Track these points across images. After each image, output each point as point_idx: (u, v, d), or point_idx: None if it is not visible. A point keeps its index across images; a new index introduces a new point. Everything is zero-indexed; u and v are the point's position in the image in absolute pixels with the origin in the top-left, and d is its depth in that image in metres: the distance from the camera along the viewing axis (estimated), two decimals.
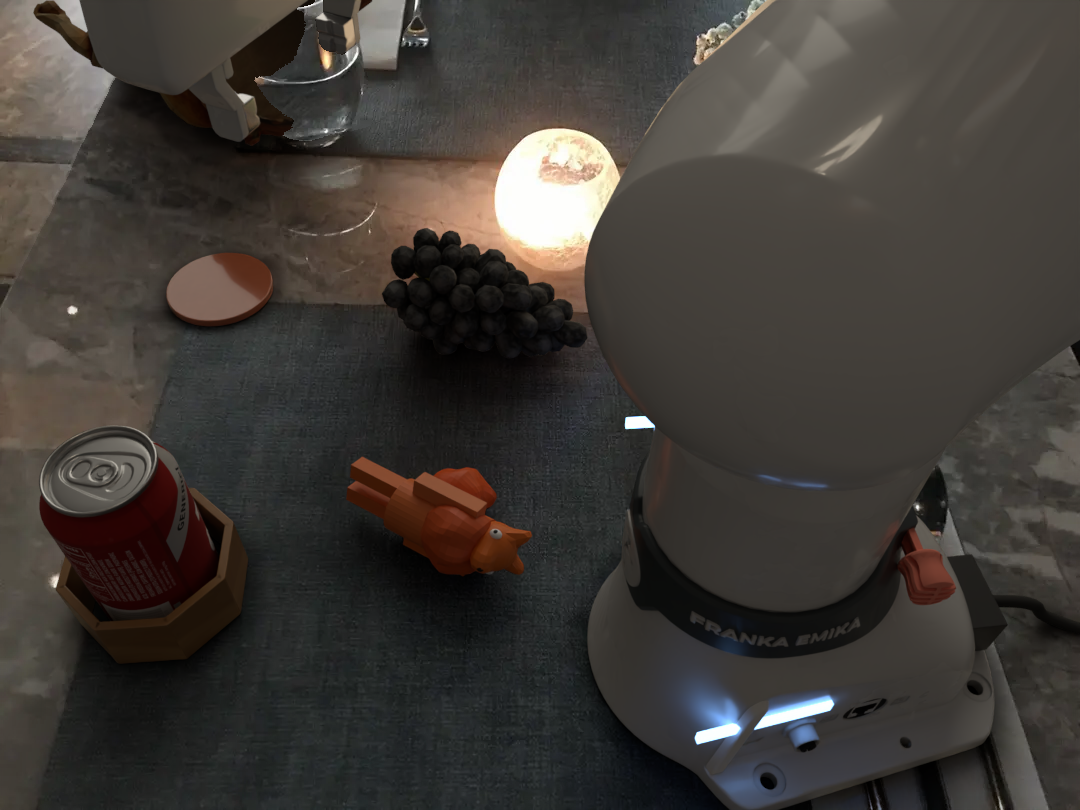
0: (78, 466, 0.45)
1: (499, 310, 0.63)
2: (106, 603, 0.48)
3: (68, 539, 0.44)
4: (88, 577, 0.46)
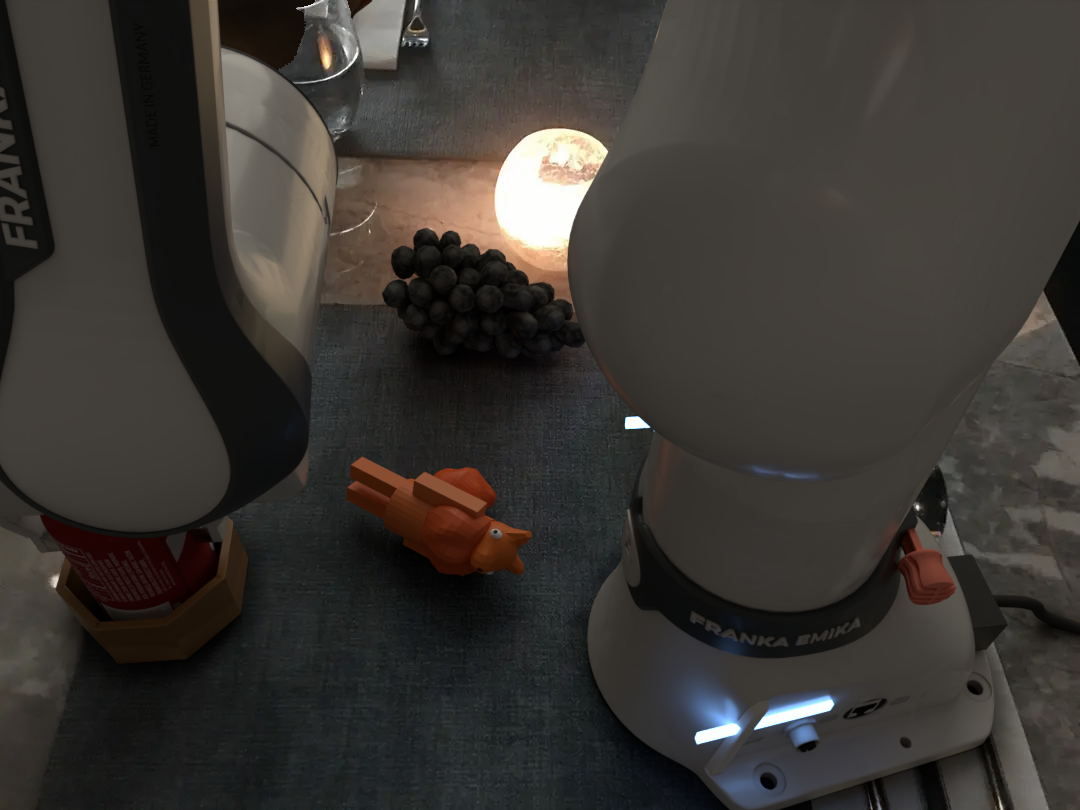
0: None
1: (499, 310, 0.63)
2: (106, 603, 0.48)
3: (68, 539, 0.44)
4: (88, 577, 0.47)
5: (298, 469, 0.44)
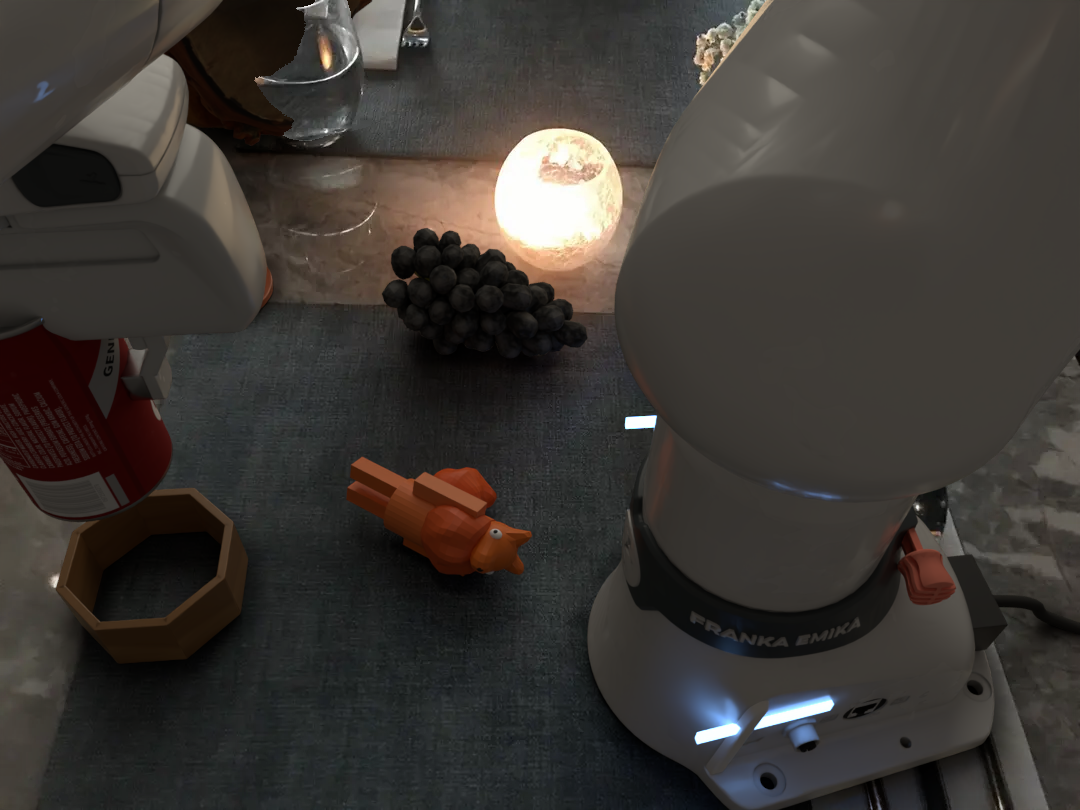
0: None
1: (499, 310, 0.63)
2: (22, 473, 0.40)
3: None
4: None
5: (248, 283, 0.35)
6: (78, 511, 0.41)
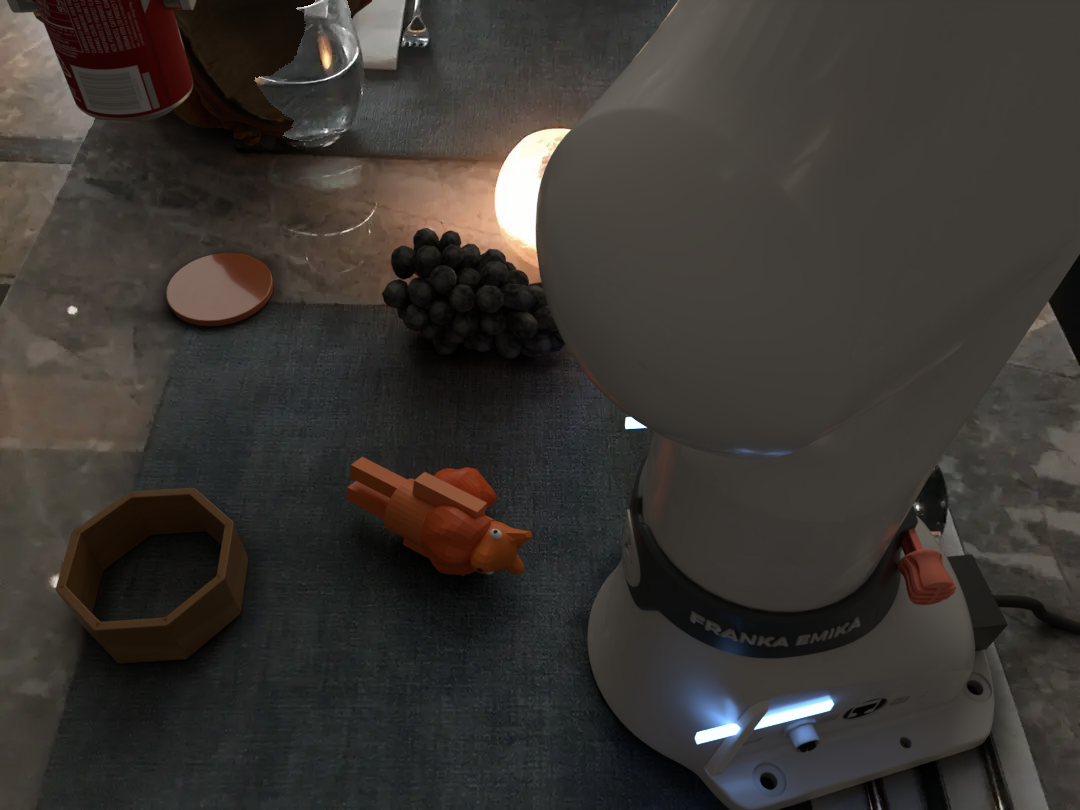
0: None
1: (499, 310, 0.63)
2: (75, 62, 0.49)
3: None
4: (56, 13, 0.47)
5: None
6: (119, 107, 0.51)
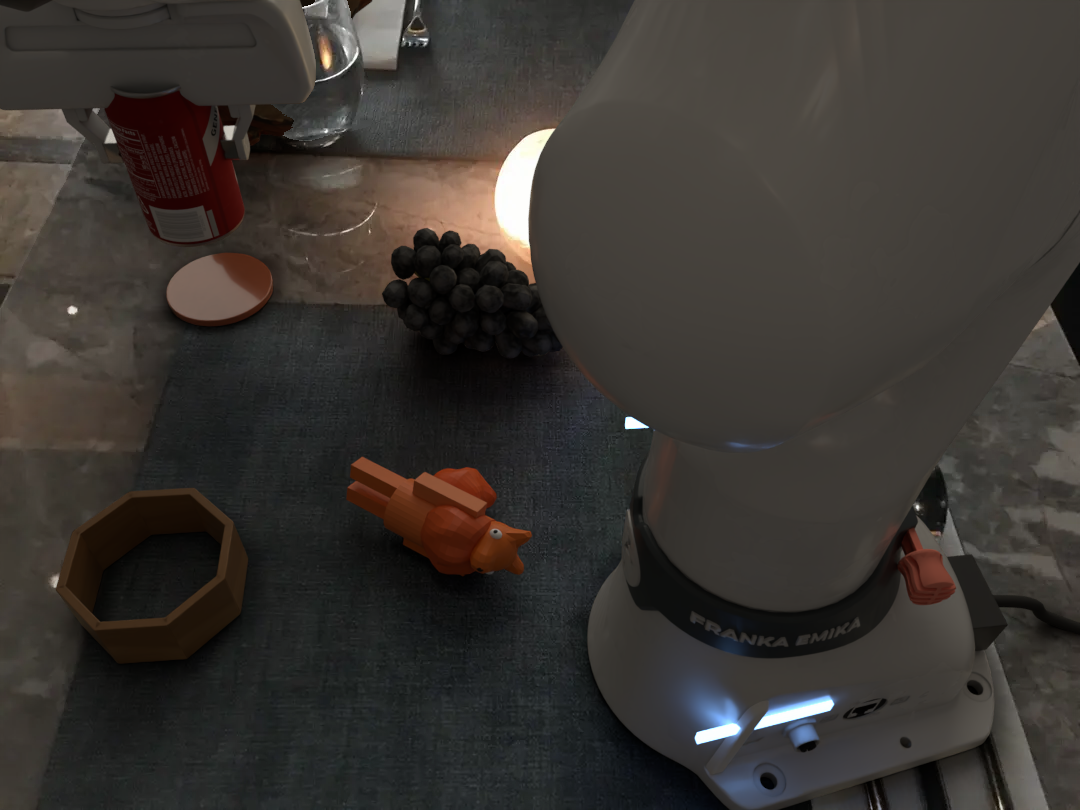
0: None
1: (499, 310, 0.63)
2: (153, 204, 0.61)
3: (128, 120, 0.56)
4: (141, 170, 0.59)
5: (308, 66, 0.56)
6: (186, 237, 0.63)
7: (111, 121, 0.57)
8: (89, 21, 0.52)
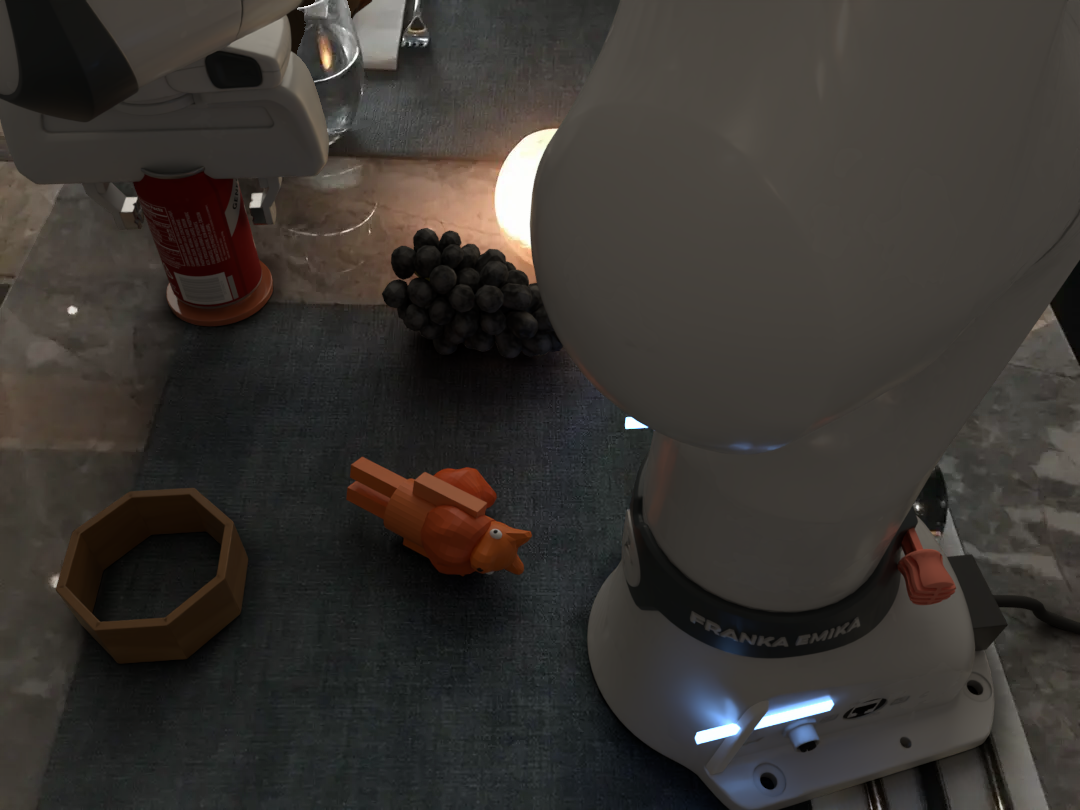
0: None
1: (499, 310, 0.63)
2: (178, 271, 0.65)
3: (156, 198, 0.61)
4: (167, 241, 0.63)
5: (321, 143, 0.60)
6: (208, 300, 0.67)
7: (140, 198, 0.62)
8: (120, 108, 0.56)
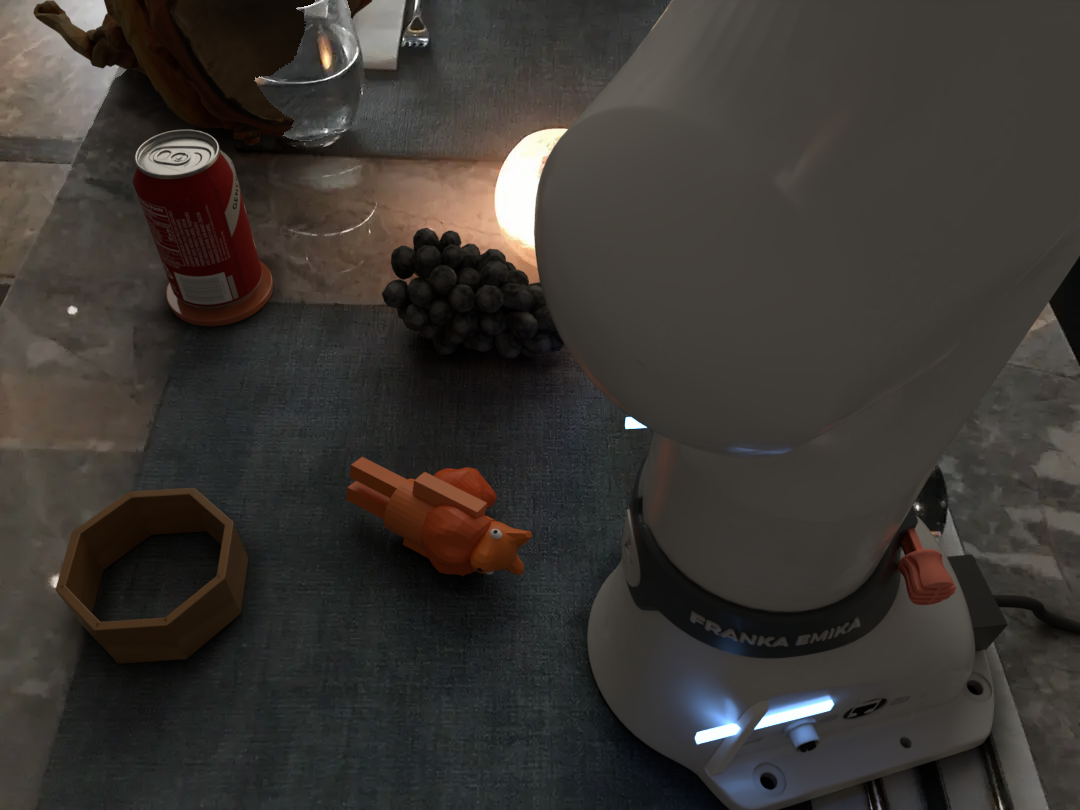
0: (161, 154, 0.62)
1: (499, 310, 0.63)
2: (178, 271, 0.65)
3: (156, 198, 0.61)
4: (167, 241, 0.63)
5: None
6: (208, 300, 0.67)
7: (140, 198, 0.62)
8: None
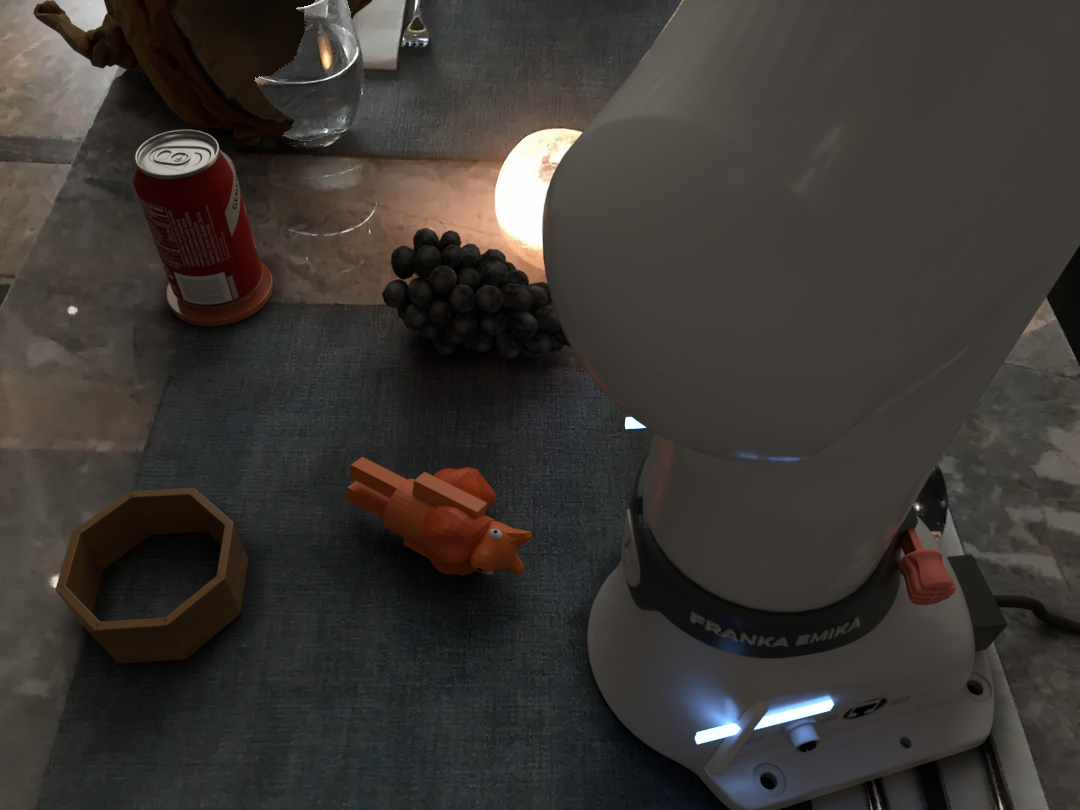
0: (161, 154, 0.62)
1: (499, 310, 0.63)
2: (178, 271, 0.65)
3: (156, 198, 0.61)
4: (167, 241, 0.63)
5: None
6: (208, 300, 0.67)
7: (140, 198, 0.62)
8: None
